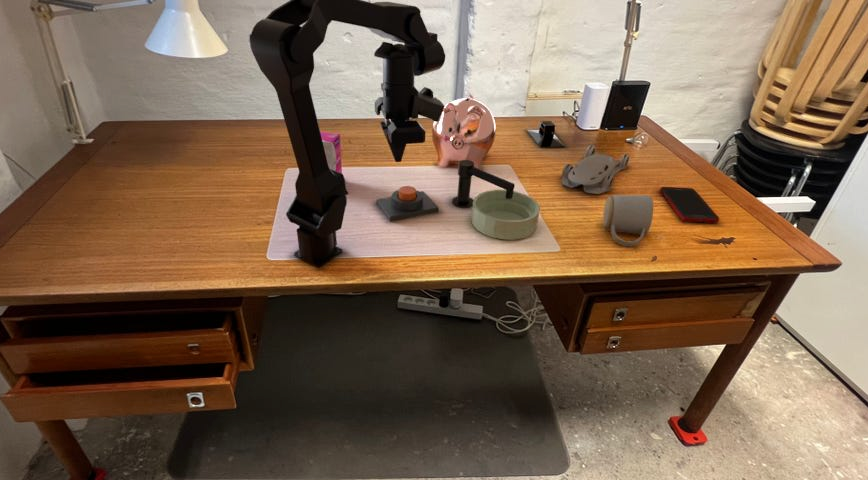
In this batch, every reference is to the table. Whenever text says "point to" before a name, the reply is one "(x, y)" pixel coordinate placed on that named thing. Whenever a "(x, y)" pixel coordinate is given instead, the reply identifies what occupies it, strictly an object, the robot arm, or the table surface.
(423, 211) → the button panel
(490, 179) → the spout
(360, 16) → the robot arm
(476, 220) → the basin
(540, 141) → the build plate
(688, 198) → the cell phone
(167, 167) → the table surface
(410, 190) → the orange button
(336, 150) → the supplement box
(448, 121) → the piggy bank
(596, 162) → the grey flat lobed piece
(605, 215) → the ceramic mug
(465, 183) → the black faucet base
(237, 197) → the table surface
